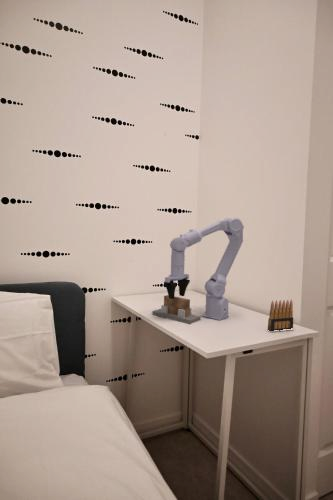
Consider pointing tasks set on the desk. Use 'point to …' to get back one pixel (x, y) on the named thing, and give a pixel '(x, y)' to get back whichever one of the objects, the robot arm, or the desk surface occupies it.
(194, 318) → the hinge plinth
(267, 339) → the desk surface
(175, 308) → the door panel
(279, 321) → the ammunition clip
